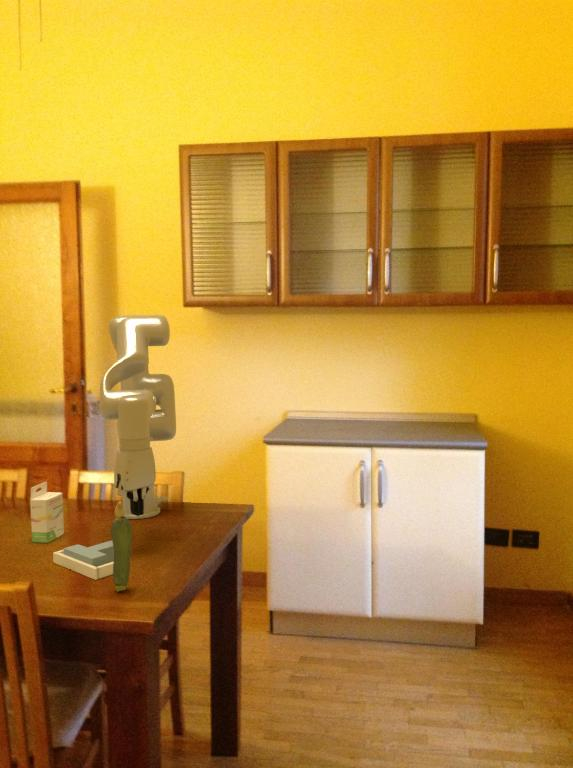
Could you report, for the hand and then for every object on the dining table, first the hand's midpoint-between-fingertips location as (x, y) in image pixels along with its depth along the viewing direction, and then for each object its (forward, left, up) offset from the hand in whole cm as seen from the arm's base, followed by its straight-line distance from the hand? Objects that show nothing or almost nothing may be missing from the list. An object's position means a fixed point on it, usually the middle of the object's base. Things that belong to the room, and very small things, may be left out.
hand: (137, 514), depth 177 cm
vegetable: (+19, +20, -9) cm, 29 cm away
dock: (+16, +1, -9) cm, 19 cm away
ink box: (+10, -27, -9) cm, 30 cm away
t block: (+12, +1, -9) cm, 15 cm away
